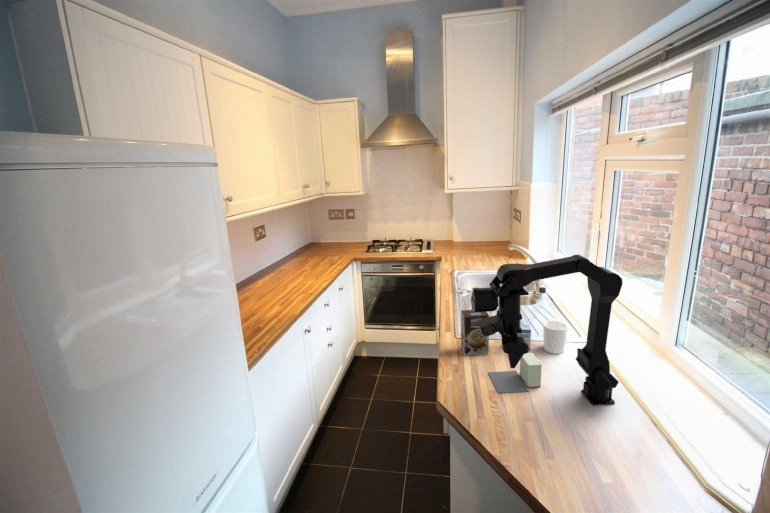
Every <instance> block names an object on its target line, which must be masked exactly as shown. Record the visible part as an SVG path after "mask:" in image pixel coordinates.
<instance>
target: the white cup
mask: <svg viewBox="0 0 770 513" xmlns="http://www.w3.org/2000/svg"><path fill="white" fill-rule="evenodd" d="M542 330H543V335H542V336H543V349H544V351H546V352H547V353H548V354H553V355H560V354H561V355H562V354H563V353H564V350H565V346H566V340H567V332H568V325H567V324H566V323H564V322H563V321H558V320H546V321H544V322H543V329H542Z"/></svg>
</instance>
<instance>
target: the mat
mask: <svg viewBox="0 0 770 513" xmlns="http://www.w3.org/2000/svg"><path fill="white" fill-rule="evenodd" d="M488 375H489V378H490V379H491V382H492V384H493V386H494V388H495V390H496V391H497V394H511V393H515V394H517V393H529V391H530V390H529V388H528V387H527V386H526V384H525V383H524V381H523V379H522V378H521V376H520V374H519V373H518V372H517V370H505V371H502V370H501V371H488Z"/></svg>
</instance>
